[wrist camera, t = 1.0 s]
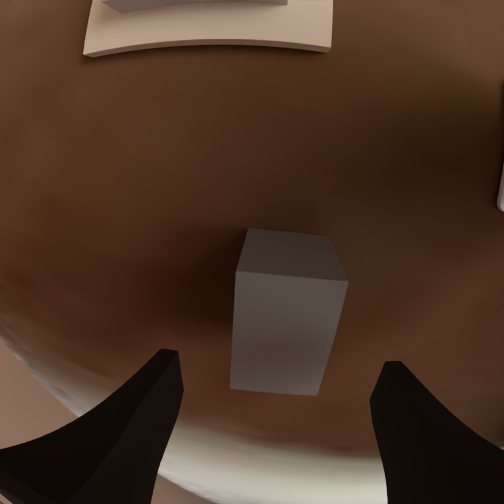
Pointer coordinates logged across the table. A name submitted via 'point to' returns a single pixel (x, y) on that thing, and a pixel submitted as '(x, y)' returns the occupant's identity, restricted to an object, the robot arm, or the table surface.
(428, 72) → the table surface
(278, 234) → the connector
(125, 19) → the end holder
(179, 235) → the table surface
